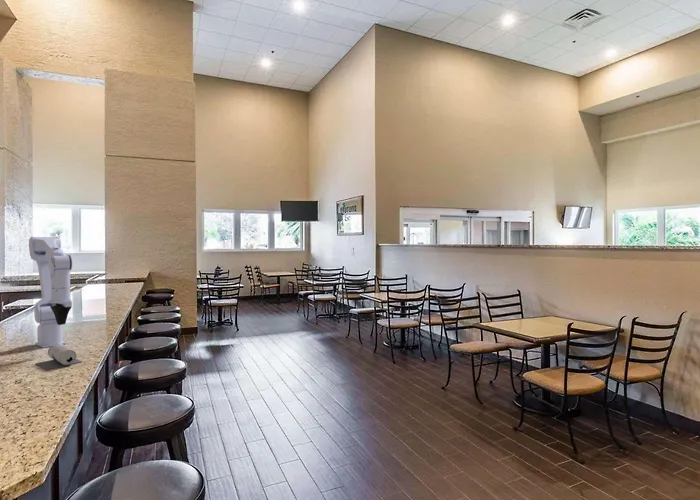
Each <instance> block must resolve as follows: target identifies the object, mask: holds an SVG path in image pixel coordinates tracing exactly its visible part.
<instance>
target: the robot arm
mask: <svg viewBox="0 0 700 500" xmlns="http://www.w3.org/2000/svg"><path fill="white" fill-rule="evenodd" d="M61 247H62V242H61V238H60V237H59V236H31V237H30V238H29V239H28V249H29V250H28V251H29V256H30V260H33V261H35V262H36V264H37V269H38V276H39V283H40V293H41V299H39V300H38V301H37V302H35V304H34V307H33V309H34V320H35V322H36V323H37V324H39V325H38V326H37V328H36V330H37V342H34V345H36V346H38V347H41V348H50V347H51V346H52V345H54V344H57V343H61V344H63V345H65V344H67V341H65V340H63V338H64V337H63V326H64V325H66V323H67V320H68V315H69V312H70V311H71V309H72V308H73V302H72V298H71V270H72V269H73V259H72V256H71V254H67V255H66V254H65V252H64V250H63V249H62V248H61Z"/></svg>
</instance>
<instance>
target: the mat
mask: <svg viewBox="0 0 700 500" xmlns="http://www.w3.org/2000/svg"><path fill="white" fill-rule="evenodd" d="M82 362H83V361H82V360H80V359H78V358H76V359H75V361H74V362H73V363H71V364H72V365H75V364H80V363H82ZM71 364H69V365H62V364H60V363H58V362H57V361H55V360H54V359H49V360H46V361H40V362H37V363H35V365H36V366H39V367H41V368H42V369H45V370H46V371H49V370H52V369H58V368H62V367H68V366H71Z"/></svg>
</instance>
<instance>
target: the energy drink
mask: <svg viewBox="0 0 700 500" xmlns="http://www.w3.org/2000/svg"><path fill="white" fill-rule="evenodd" d="M47 356H48V357H49V358H50V359H51V360H55V361H57V362H58V363H60V364H62V365H67V366H70V365H69V364H71V363H73V362H74V361H75V359H77V351H76V350H74V349H72V348H71V347H69V346H67V345H65V344H61V343H57V344H54V345H52V346H50V347H48V349H47Z"/></svg>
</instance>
